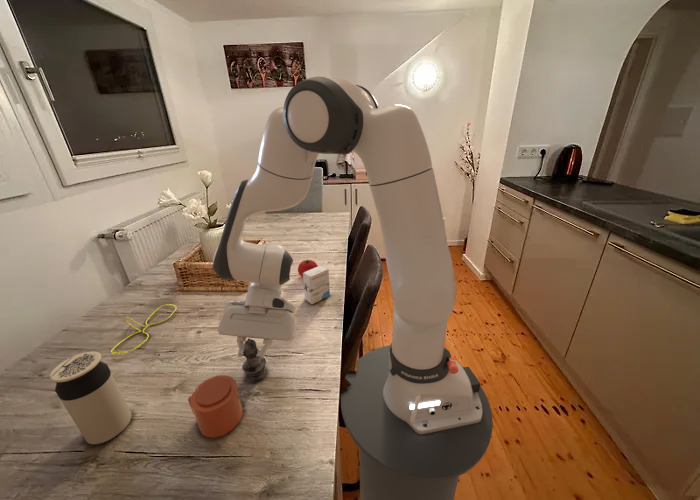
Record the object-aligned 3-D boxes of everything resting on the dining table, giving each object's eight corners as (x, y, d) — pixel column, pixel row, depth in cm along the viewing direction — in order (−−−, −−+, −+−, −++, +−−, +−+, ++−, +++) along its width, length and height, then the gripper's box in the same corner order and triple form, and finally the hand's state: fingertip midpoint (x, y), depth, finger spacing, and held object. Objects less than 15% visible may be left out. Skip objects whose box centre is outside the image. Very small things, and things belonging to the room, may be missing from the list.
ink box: (322, 291, 111) (320, 264, 106) (330, 296, 107) (329, 268, 103) (304, 299, 106) (301, 272, 101) (312, 305, 102) (309, 277, 97)
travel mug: (140, 410, 65) (112, 350, 58) (112, 445, 58) (76, 382, 51) (107, 409, 65) (75, 350, 58) (75, 445, 58) (34, 381, 51)
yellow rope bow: (131, 357, 80) (125, 344, 79) (98, 357, 81) (92, 344, 79) (182, 306, 103) (178, 295, 101) (156, 306, 104) (152, 295, 102)
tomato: (317, 281, 118) (316, 264, 115) (296, 281, 118) (294, 264, 115) (320, 271, 126) (318, 255, 123) (300, 271, 126) (298, 255, 123)
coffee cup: (248, 399, 67) (241, 372, 63) (233, 437, 59) (225, 409, 55) (205, 399, 67) (196, 373, 64) (184, 437, 59) (172, 409, 55)
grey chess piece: (263, 362, 78) (256, 327, 73) (271, 375, 73) (264, 339, 68) (241, 372, 74) (232, 336, 70) (248, 387, 70) (240, 350, 65)
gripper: (220, 297, 74) (206, 352, 69) (294, 302, 71) (284, 361, 66) (233, 302, 80) (220, 353, 75) (301, 307, 77) (293, 361, 72)
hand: (251, 357), depth 71 cm, fingers closed on grey chess piece, 3 cm apart
